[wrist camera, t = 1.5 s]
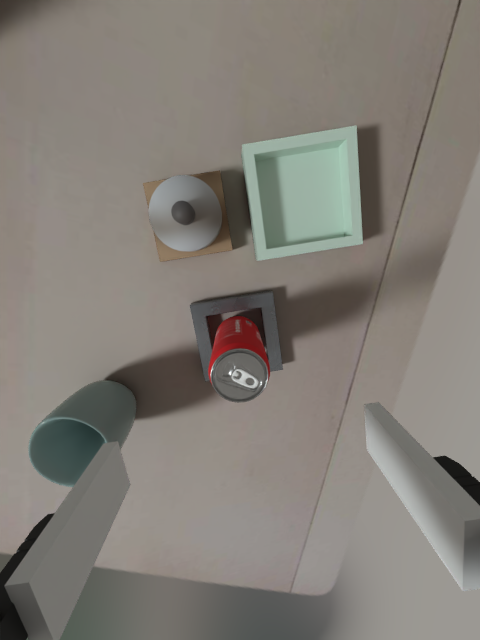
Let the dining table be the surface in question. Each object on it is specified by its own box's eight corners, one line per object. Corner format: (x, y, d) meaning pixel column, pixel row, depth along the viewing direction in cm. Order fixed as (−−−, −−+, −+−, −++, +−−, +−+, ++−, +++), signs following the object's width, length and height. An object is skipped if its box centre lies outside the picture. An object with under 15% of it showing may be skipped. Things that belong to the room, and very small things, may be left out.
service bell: (147, 186, 30) (128, 172, 25) (220, 174, 30) (217, 157, 25) (163, 261, 32) (149, 262, 27) (232, 250, 32) (232, 249, 27)
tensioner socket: (191, 303, 33) (189, 305, 32) (271, 290, 33) (272, 292, 32) (206, 376, 36) (205, 381, 34) (280, 364, 36) (282, 369, 34)
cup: (152, 383, 36) (121, 432, 26) (134, 434, 37) (99, 498, 28) (92, 362, 35) (36, 404, 25) (76, 415, 37) (18, 474, 27)
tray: (241, 155, 30) (242, 144, 27) (344, 138, 30) (356, 125, 27) (256, 259, 32) (258, 260, 30) (351, 244, 32) (362, 243, 29)
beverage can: (229, 306, 34) (226, 334, 22) (266, 326, 34) (283, 364, 23) (208, 342, 35) (196, 388, 23) (245, 361, 35) (251, 415, 24)
